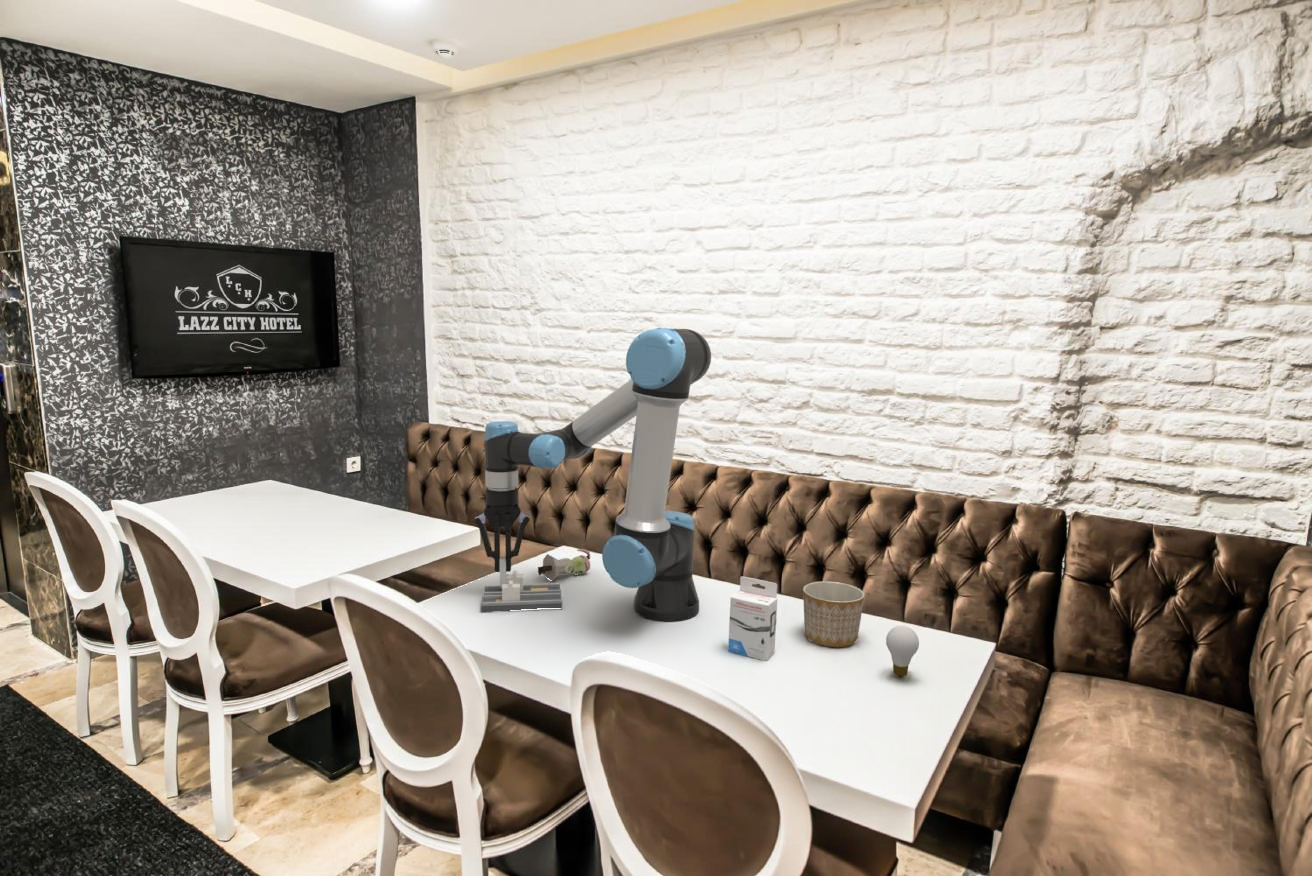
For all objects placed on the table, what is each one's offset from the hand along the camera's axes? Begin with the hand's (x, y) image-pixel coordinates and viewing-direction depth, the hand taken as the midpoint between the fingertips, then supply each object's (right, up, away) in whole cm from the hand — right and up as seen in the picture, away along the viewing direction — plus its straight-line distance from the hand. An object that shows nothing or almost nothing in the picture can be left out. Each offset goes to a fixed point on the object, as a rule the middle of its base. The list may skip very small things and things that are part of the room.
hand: (503, 584), depth 179 cm
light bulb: (+83, -11, -37) cm, 91 cm away
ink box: (+56, -9, -27) cm, 63 cm away
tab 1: (+3, -1, +1) cm, 3 cm away
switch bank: (+5, -4, -2) cm, 6 cm away
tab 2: (+3, -2, -6) cm, 7 cm away
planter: (+74, -8, -19) cm, 77 cm away
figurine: (+13, -2, +16) cm, 21 cm away
